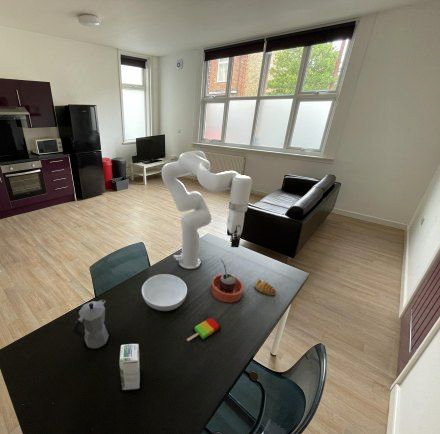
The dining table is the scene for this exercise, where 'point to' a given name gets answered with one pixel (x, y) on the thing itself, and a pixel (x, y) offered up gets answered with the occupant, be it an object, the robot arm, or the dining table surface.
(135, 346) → the syrup box
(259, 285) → the pastry
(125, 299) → the dining table surface
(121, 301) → the dining table surface
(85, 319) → the coffeepot
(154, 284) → the serving bowl
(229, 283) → the mate gourd
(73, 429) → the dining table surface
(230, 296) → the terracotta bowl
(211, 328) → the popsicle
